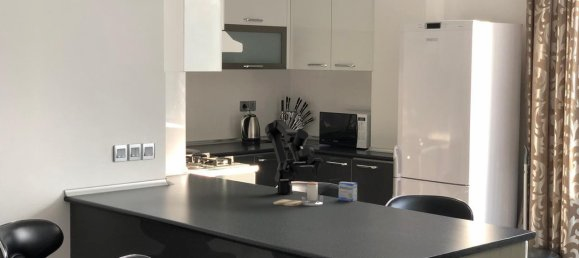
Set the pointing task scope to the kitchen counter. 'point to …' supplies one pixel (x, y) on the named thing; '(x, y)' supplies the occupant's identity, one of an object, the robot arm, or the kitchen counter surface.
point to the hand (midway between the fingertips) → (308, 178)
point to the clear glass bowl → (312, 202)
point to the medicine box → (347, 191)
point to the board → (287, 202)
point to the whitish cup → (312, 191)
